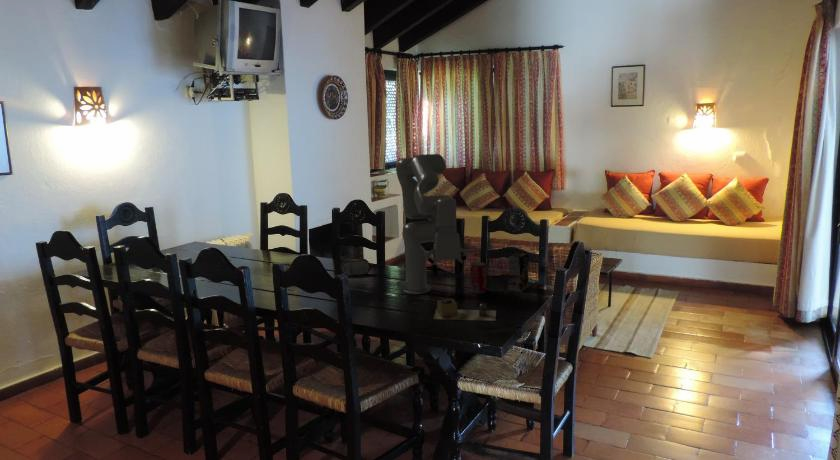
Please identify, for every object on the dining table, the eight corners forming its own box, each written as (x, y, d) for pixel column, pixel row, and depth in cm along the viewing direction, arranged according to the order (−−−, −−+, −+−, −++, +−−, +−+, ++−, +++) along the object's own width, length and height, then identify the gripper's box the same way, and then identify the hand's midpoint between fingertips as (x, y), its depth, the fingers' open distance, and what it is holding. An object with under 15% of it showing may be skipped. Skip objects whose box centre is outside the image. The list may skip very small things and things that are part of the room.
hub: (479, 316, 235) (479, 305, 234) (479, 313, 237) (479, 302, 236) (486, 316, 234) (486, 305, 233) (486, 314, 237) (486, 303, 236)
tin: (369, 273, 305) (369, 257, 304) (371, 275, 302) (370, 258, 301) (340, 276, 301) (339, 259, 300) (341, 277, 298) (340, 261, 297)
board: (433, 321, 233) (432, 305, 231) (436, 311, 244) (436, 295, 243) (495, 323, 229) (495, 306, 228) (495, 313, 241) (496, 297, 240)
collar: (441, 317, 234) (441, 305, 233) (437, 312, 240) (437, 300, 239) (457, 316, 235) (457, 303, 234) (452, 310, 241) (452, 299, 240)
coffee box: (521, 292, 268) (521, 257, 265) (507, 290, 272) (508, 255, 269) (528, 287, 276) (529, 253, 273) (515, 285, 279) (516, 251, 276)
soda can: (485, 294, 266) (485, 266, 264) (469, 293, 268) (469, 265, 265) (487, 290, 273) (487, 262, 271) (471, 289, 275) (471, 261, 272)
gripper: (426, 233, 226) (427, 277, 229) (471, 230, 229) (471, 274, 232) (422, 229, 233) (423, 272, 236) (465, 227, 236) (465, 269, 239)
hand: (447, 273), depth 234 cm, fingers open, 9 cm apart
